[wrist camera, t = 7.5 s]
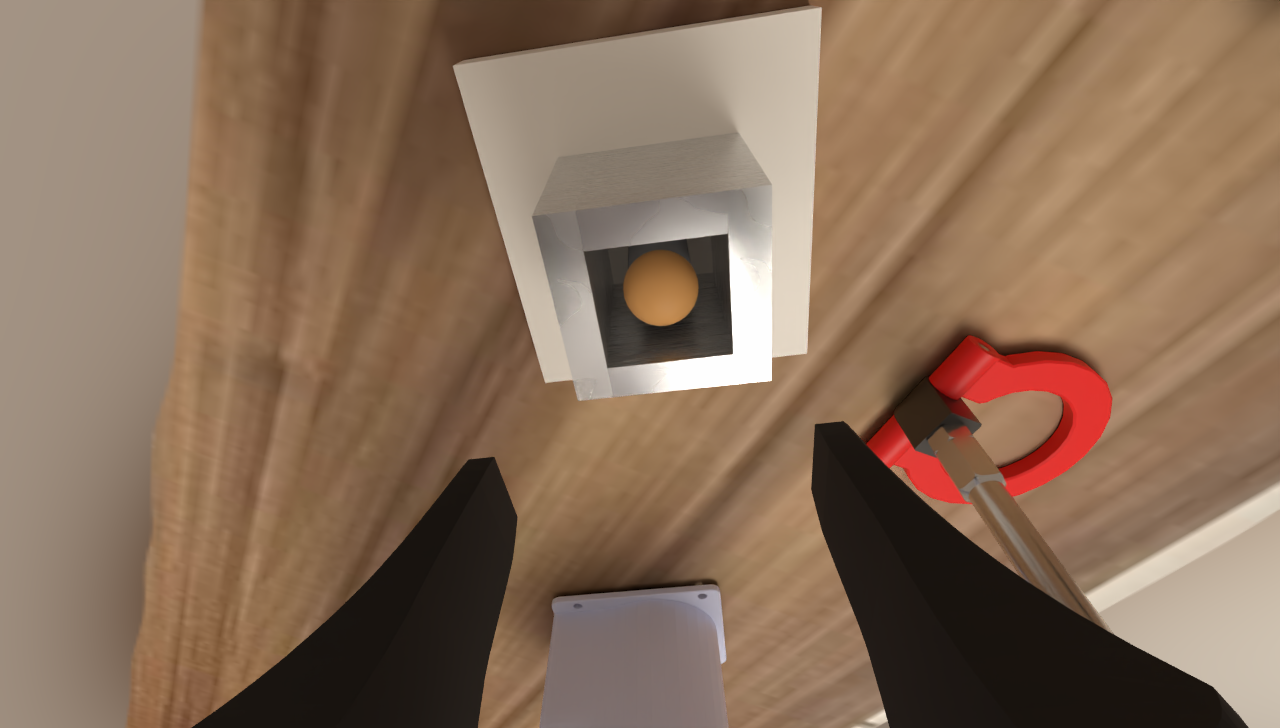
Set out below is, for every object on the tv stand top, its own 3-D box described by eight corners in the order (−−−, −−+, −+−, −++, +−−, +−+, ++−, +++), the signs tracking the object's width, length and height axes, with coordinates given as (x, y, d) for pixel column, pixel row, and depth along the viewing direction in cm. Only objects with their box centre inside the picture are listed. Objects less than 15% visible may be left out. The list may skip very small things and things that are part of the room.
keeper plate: (549, 364, 23) (523, 478, 17) (464, 60, 16) (385, 98, 11) (799, 336, 22) (848, 446, 17) (810, 5, 16) (893, 20, 10)
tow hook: (1137, 382, 24) (976, 309, 21) (1545, 715, 13) (1328, 650, 11) (990, 503, 28) (842, 454, 26) (1212, 823, 18) (1001, 796, 15)
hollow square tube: (590, 312, 20) (577, 400, 16) (558, 157, 17) (531, 216, 13) (743, 294, 19) (771, 380, 15) (738, 132, 16) (772, 184, 12)
